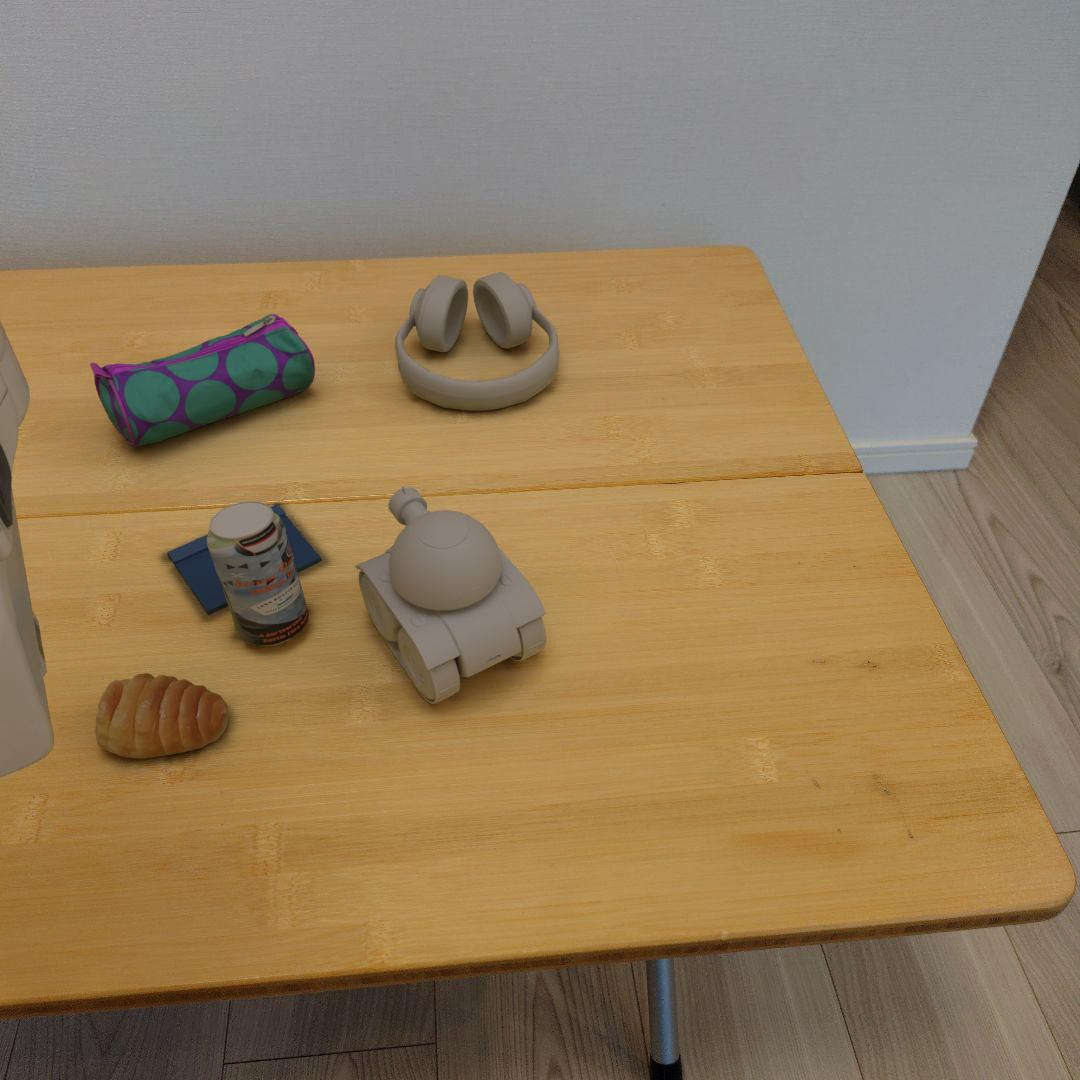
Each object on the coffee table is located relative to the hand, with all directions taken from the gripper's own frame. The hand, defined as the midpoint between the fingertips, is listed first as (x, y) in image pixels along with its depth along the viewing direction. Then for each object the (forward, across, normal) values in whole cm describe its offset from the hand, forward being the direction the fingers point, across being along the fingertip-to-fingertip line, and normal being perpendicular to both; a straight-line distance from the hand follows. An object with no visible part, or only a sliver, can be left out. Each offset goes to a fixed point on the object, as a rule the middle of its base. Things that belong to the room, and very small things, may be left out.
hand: (23, 658), depth 39 cm
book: (+31, -35, +12) cm, 48 cm away
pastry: (+31, -20, +1) cm, 37 cm away
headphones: (+31, -54, +44) cm, 76 cm away
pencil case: (+31, -58, +15) cm, 67 cm away
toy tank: (+31, -18, +25) cm, 44 cm away
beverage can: (+31, -26, +12) cm, 42 cm away
